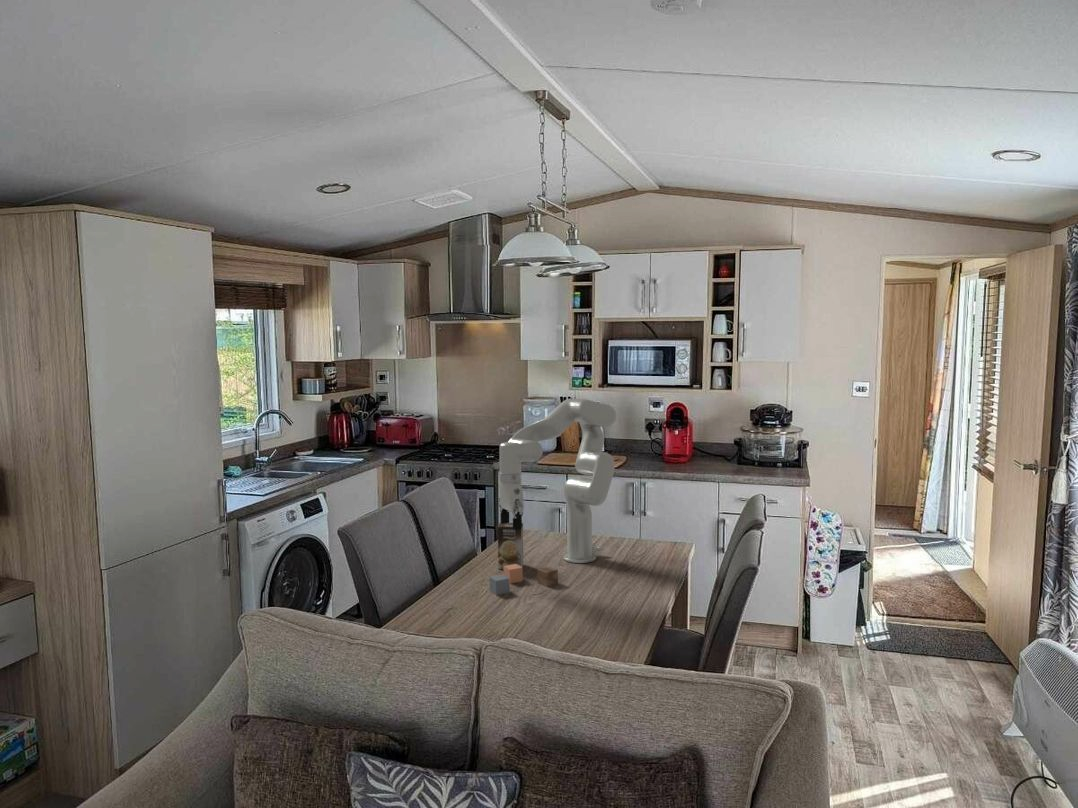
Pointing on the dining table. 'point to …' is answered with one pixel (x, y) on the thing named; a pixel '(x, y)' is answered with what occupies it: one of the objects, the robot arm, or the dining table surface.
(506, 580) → the slate block
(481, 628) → the dining table surface
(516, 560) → the coffee box
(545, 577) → the walnut block
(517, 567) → the rust block
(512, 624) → the dining table surface
